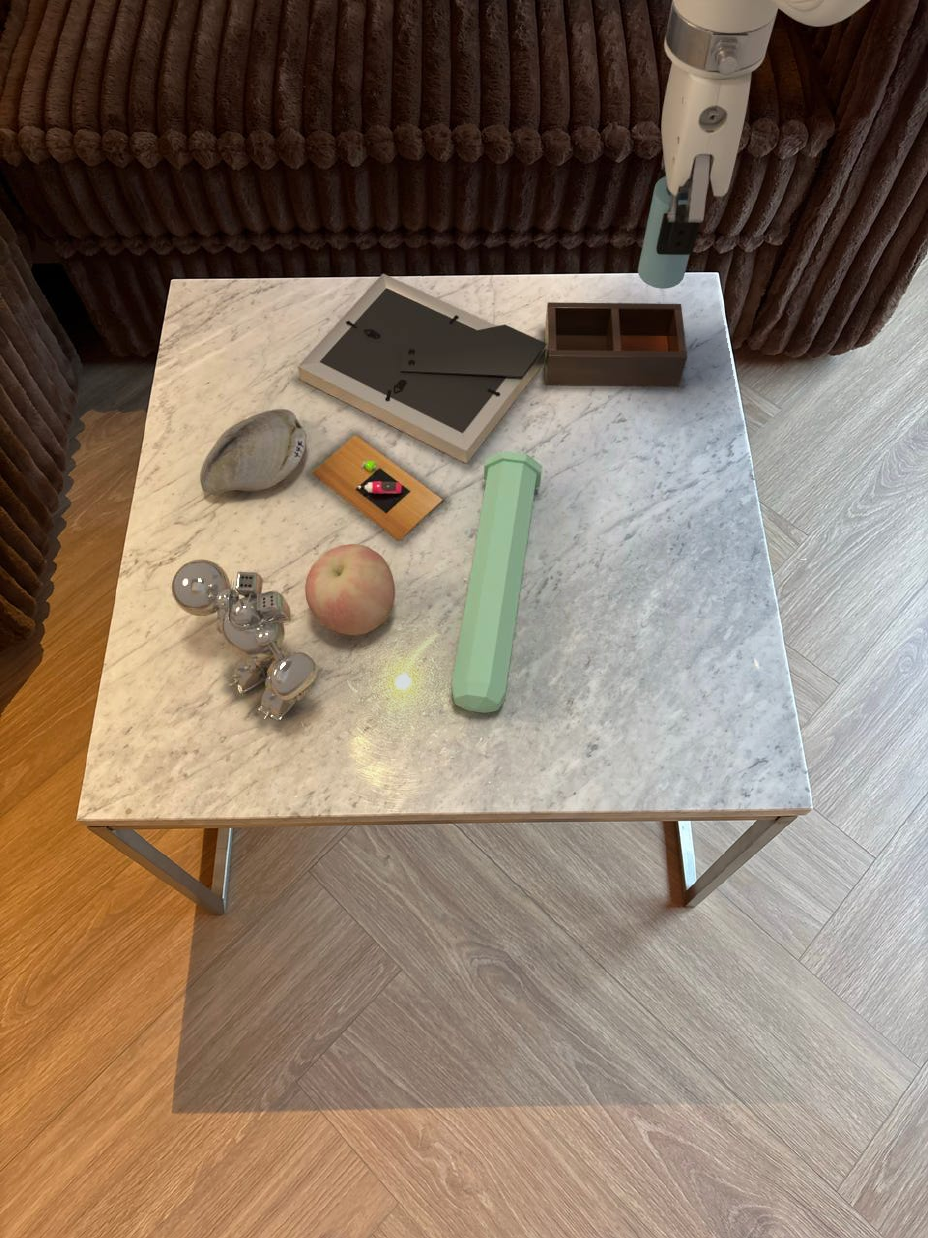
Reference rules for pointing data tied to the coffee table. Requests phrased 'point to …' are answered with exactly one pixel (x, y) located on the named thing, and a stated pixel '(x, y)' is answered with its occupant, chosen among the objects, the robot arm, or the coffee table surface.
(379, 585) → the apple
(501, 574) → the container
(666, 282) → the bottle
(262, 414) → the seashell
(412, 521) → the board
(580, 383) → the holder
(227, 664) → the coffee table surface
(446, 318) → the picture frame
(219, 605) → the robot toy
